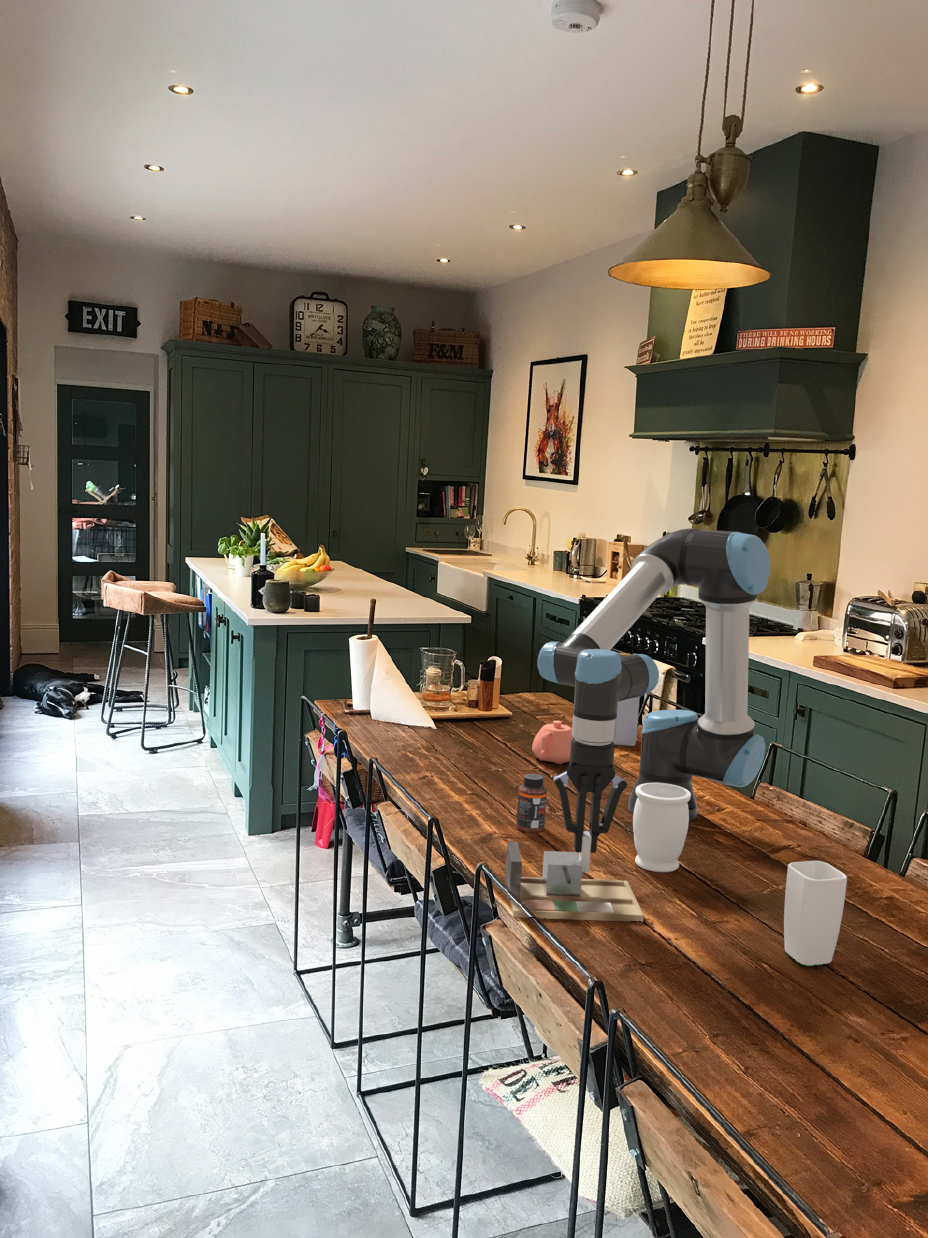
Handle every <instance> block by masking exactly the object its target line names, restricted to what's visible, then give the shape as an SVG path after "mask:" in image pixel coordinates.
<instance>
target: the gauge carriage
mask: <svg viewBox="0 0 928 1238" xmlns="http://www.w3.org/2000/svg"><path fill="white" fill-rule="evenodd" d="M542 861H543V864H542V876H541V878H542V885H543V889H544V892H545V895H546V896H574V897H580V894H581V880H582V879H583V872H582V867H583V865H582V863H581V860H580V857H579V852H576V851H558V850H557V851H555V850H554V851H553V850H551V851H550V850H549V851H548V850H544V851H543V860H542Z"/></svg>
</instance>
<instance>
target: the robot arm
mask: <svg viewBox="0 0 928 1238" xmlns="http://www.w3.org/2000/svg"><path fill="white" fill-rule="evenodd" d="M769 555H770V553H769V551H768V548H767V546H766V545H765V543H764V542H763V541H762V539H761V538H760V537H759V536H757V535H754V534H748V533H744V532H740V531H731V530H730V531H729V530H727V531H726V530H714V529H712V530H711V529H699V528H693V527H692V528H689V527H688V528H681V529H678V530H675V531H672V532H670V533H667V534H666V535H664V536H662V537H660V538H658V539H657V540H655V541H654V542H652V543H650V544H649V545H648V546H647V547H645V548H644V549H643V550H642V551H640V552H639V554H638V555H636V557H635V558H634V559H633V560H632V563H631V567H630V568H631V569H630V571H629V572H627V574H626V575H624V577H623V578H622V579H621V580H620V581H619V582H618V584H617V585H616V586H615V587H614V588H613V589H612V590H611V591H610V592H609V594H607V595H606V597H604V599H603V600H602V601H601V602H600V603H599V604H598V605H597V606H596V607H595V608H594V609H593V611H592V612H590V614H589V615H588V616H587V617H586V618H585V619H584V620H583V621H582V622H581V623H580V624H579V626H577V627H576V629H575V630H574V631H573V632H572V633H570V636H568V638H567V639H565V641H563V642H561V641H549V642H546V643H545V644H544V645H543V646H542V647H541V649H540V650H539V654H538V655H537V656H538V657H537V663H536V664H537V669H538V673H539V675H540V676H541V677H542V678H543V679H544V680H547V681H549V682H553V683H556V684H557V685H563V686H569V687H574V697H573V699H574V701H573V710H572V711H573V714H572V725H571V729H572V736H573V737H574V738H573V739H572V740H571V749H570V762H569V763H568V764H567V766H566V768H565V771H563V772H562V773H561V774H555V775H553V777H552V780H553V782H554V785H555V786H556V788H557V791H558V795H559V799H560V805H561V810H562V816H563V822H564V826H565V829H566V831H567V832H568V833H573V836H574V837H573V838H574V840H573V848H574V852H578V855H579V857H580V860H581V863H582V865H583V867H582V873H590V862H591V854H596V853H597V848H598V846H597V845H598V838H599V836H600V835H601V834H608V833H609V831H610V828H611V824H612V821H613V819H614V815H615V813H616V811H617V810H616V809H617V807H618V804H619V800H620V798H621V795H622V793H623V792H624V791H625V790H626V788H627V787H628V783H627V781H626V779H625V777H623V776H622V777H620V776H619V775H617V774H616V773H617V772H616V770H615V768H614V760H615V759H614V758H615V747H616V745H615V744H614V742H613V740H615V735H616V721H617V708H618V702H619V701H622V700H626V699H631V698H635V697H636V698H637V697H640V698H641V697H643V696H644V695H647V694H649V693H651V692H652V691H654V689H655V688H656V687H657V685H658V683H659V679H660V673H659V667H658V665H657V663H656V662H655V660H654V659H653V658H652V657H650V656H649V655H646V654H643V653H639V654H638V653H632V654H631V653H630V654H631V655H621V654H618V653H619V652H616V651H614V650H612V648H613V647H615V645H616V644H617V643H618V642H619V640H620V639H621V638H622V637H623V636H624V635H626V633H627V632H628V631H629V629H630V628H631V627H633V625H634V624H635V622H637V620H638V619H639V618H640V617H641V616H642V615H643V613H645V611H646V610H647V609H648V608H649V607H650V605H651V604H652V603H653V602H654V601H655V600H656V599H657V598H658V597H659V595H664V594H667V593H668V592H670V591H671V589H672V588H673V587H675V586H678V585H687V586H694V587H698V589H697V590H698V600H699V601H700V602H701V603H702V604H703V605H704V606H705V679H704V680H705V683H704V684H705V693H704V696H705V700H704V701H705V704H704V709H705V713H704V714H703V715H701V716H700V717H699V716H698V713H697V712H695V711H692V710H688V709H687V710H686V709H662V710H661V709H660V710H654V711H651V712H649V713H647V714H646V715H645V716H644V718H643V724H642V729H641V740H640V741H641V744H640V755H639V756H640V757H639V768H638V769H639V770H638V772H639V773H638V777H637V780H636V781H635V784H634V787H633V789H632V791H631V793H630V796H629V797H628V805H627V806H628V808H627V809H628V811H629V812H630V813H631V814H632V815H633V814H634V808H635V804H636V800H637V798H638V796H637V795H636V792H635V791H636V787H637V786H638V785H640V784H644V783H666V784H672V785H676V786H680V787H682V788H685V789H687V790H688V791H689V792H690V793H691V798H690V800H689V801H688V802H687V803H688V809H689V823H690V822H693V821H694V820H696V819H697V818H698V817H697V816H698V804H697V798H696V794H695V791H694V787H693V776H694V777H697V778H702V779H706V780H709V781H712V782H715V783H716V782H717V783H719V784H723V785H724V786H731V787H732V786H733V787H737V788H743V787H744V788H745V787H746V786H748V785H750V783H752V782H753V781H754V780H755V778H756V777H757V776H758V773H759V771H760V769H761V766H762V764H763V761H764V758H765V752H766V741H765V738H764V737H763V736H761V735H760V734H758V733H757V734H756V733H755V727H756V725H755V721H754V720H753V719H752V718H751V717H750V716H749V715H748V702H749V699H748V698H749V697H748V695H749V693H748V691H749V656H750V655H749V652H750V651H749V649H750V648H749V647H750V643H749V642H750V607H751V606H752V605H753V604H754V603H756V601H757V600H758V596H759V595H758V594H761V593H762V592H763V591H764V590H765V589H766V587H767V586H768V582H769V580H768V578H769V577H770V575H771V562H770V556H769ZM568 780H570V782H571V783H572V785H573V786H574V788H575V789H576V803H575V804H576V806H575V817H574V819H575V821H574V822H573V818H572V813H571V807H570V801H569V795H568V790H567V789H566V787H567V786H568V785H569V781H568ZM610 783H611V786H612V787H611V788H610V792H609V795H608V797H607V801H606V803H605V808H604V809H603V813H602V817H601V815H600V814H601V812H600V811H601V801H602V795H603V791H604V790H605V789H606V788H607V786H609V785H610ZM588 793H591V797H590V812H589V825H588V826H589V831H588V830H586V831H585V820H586V818H585V817H586V803H587V802H586V801H587V798H588ZM600 817H601V818H600Z"/></svg>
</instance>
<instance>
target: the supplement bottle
mask: <svg viewBox="0 0 928 1238" xmlns="http://www.w3.org/2000/svg"><path fill="white" fill-rule="evenodd" d="M523 777H524V778H523V782H524V783H523V784H522V783H521V785H520V786H519V788H518V794H517V796H518V797H517V808H516V809H517V810H516V825H515V826H516V827H517V828H518V829H519V830H520V831H523V832H526V833H538V832H542V831H543V830H544V829H545V824H546V809H547V798H548V797H547V796H548V790H547V788H546V786H545V785H544V776H543V775H541V774H537V773H527V774H524V776H523Z"/></svg>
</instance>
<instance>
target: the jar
mask: <svg viewBox="0 0 928 1238" xmlns="http://www.w3.org/2000/svg"><path fill="white" fill-rule="evenodd" d="M635 792H636V795H637V796H638V798H637V800H636V804H635V808H634V814H632V815H633V816H632V829H633V841H634V847H635V850H636V853H637V855H636V856H635V860H634V861H635V864H636V866H638V867H640V868H641V869H643V870H646V871H650V872H656V873H671V872H674V871H676V870H677V869H679V867H680V862H679V860H678V859H679V857H680V856H681V854H682V852H683V848H684V846H685V841H686V838H687V834H688V830H689V823H690V822H689V809H688V803H687V802H688V801H689V800H690V798H691V793H690V792H689V791H688V790H687V789H685V788H682V787H680V786H676V785H672V784H666V783H644V784H640V785H638V786H637V787H636V791H635Z"/></svg>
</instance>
